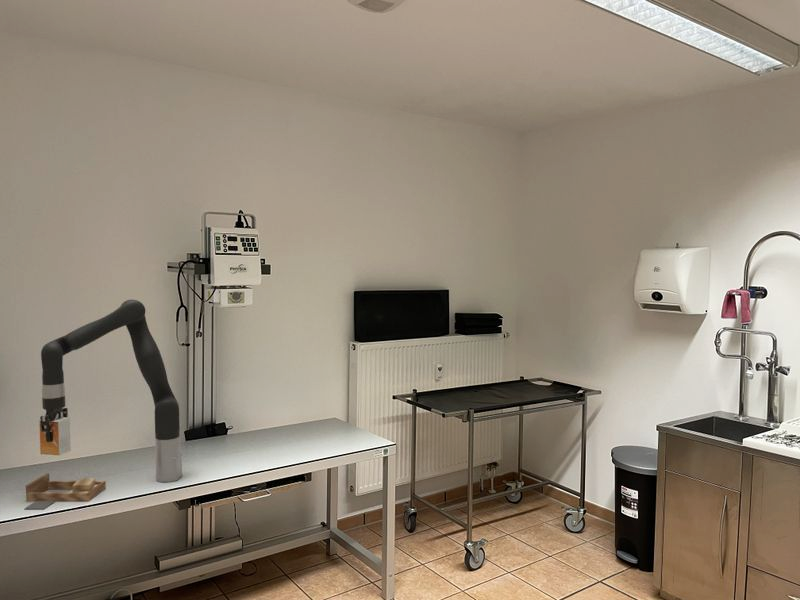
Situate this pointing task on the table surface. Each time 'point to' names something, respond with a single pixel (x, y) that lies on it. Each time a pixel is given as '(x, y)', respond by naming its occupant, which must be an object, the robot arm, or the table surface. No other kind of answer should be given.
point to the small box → (56, 438)
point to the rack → (40, 485)
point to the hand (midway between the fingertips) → (55, 438)
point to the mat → (39, 505)
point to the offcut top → (83, 485)
